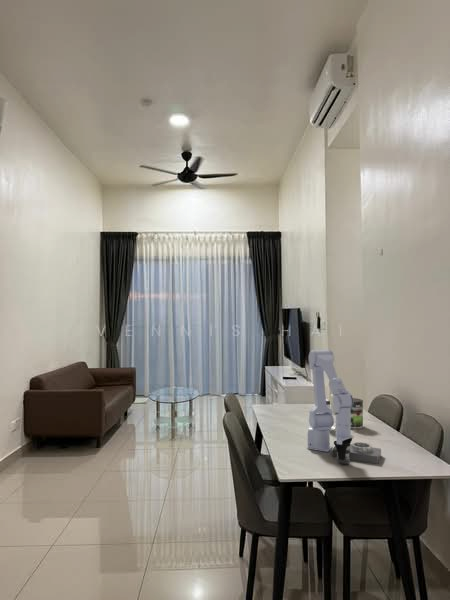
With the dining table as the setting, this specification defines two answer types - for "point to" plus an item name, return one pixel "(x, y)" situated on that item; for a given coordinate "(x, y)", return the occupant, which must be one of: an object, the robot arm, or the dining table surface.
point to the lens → (347, 457)
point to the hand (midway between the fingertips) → (343, 457)
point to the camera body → (362, 452)
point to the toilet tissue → (332, 404)
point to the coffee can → (357, 414)
